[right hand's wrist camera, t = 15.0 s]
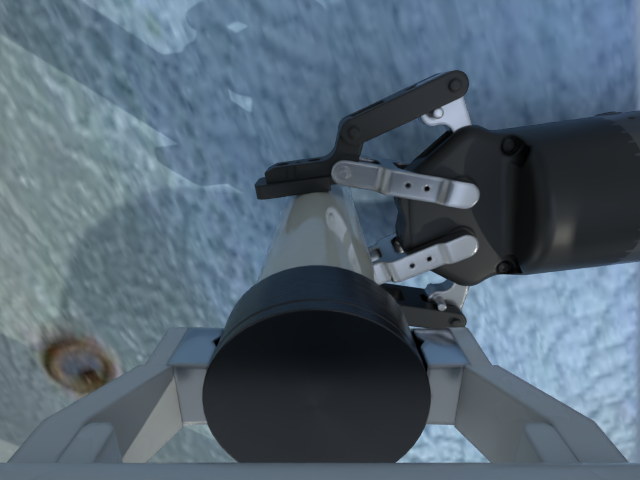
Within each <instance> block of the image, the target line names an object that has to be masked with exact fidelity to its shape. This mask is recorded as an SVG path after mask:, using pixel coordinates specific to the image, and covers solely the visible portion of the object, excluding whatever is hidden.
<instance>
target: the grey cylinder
mask: <svg viewBox="0 0 640 480" xmlns="http://www.w3.org/2000/svg"><path fill="white" fill-rule="evenodd" d="M308 265H326V266H334V267H340V268H344V269H348V270H351V271H354V272H356V273H359V274H362V275H364V276H365V277H367V278H369V279H371V280H373V281H374V282H376V283H377V284H379V282H378V279H377V276H376V272H375V269H374V266H373V263H372V259H371V256H370V253H369V250H368V247H367V243H366V240H365V237H364V234H363V231H362V227H361V224H360V221H359V218H358V215H357V211H356V208H355V205H354V202H353V198H352V195H351V192H350V189H349V187H348V186H342V185H339V184H335V185H331V191H325V192H316V193H309V194H302V195H294V196H286V198H285V201H284V204H283V207H282V210H281V213H280V216H279V219H278V221H277V224H276V227H275V230H274V233H273V236H272V239H271V242H270V245H269V248H268V251H267V254H266V257H265V260H264V263H263V266H262V269H261V272H260V275H259V278H258V281H257V283H258V282H260V281H261V280H263V279H265V278H267V277H269V276H270V275H272V274H275V273H278V272H280V271H283V270H286V269H290V268H294V267H299V266H308Z"/></svg>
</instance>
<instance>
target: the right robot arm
mask: <svg viewBox="0 0 640 480" xmlns="http://www.w3.org/2000/svg"><path fill="white" fill-rule="evenodd" d="M223 330H224V328H194V327H191V328H189V327H172V328H170V329H168V331H167V332H166V334H165V335H164V337H163V338H162V340H161V341H160V343H159V344H158V346H157V347H156V349H155V350H154V352H153V353H152V355H151V356H150V358H149V360H148V361H147V363H146V364H145V365H139V366H137V367H135V368H134V369H132V370H130V371H128V372H127V373H125V374H123V375H121V376H120V377H118V378H116V379H114V380H113V381H111V382H109V383H108V384H106V385H104V386H102V387H101V388H99V389H97V390H95V391H94V392H92V393H90V394H88V395H87V396H85V397H83V398H81V399H80V400H78V401H76V402H74V403H73V404H71V405H69V406H67V407H66V408H64V409H62V410H61V411H59V412H57V413H55V414H54V415H52V416H50V417H48V418H47V419H45V420H43V421H42V422H41V423H40V424H39V426H38V427H37V428H36V429H35V430H34V431H33V433H32V434H31V435H30V436H29V437H28V438H27V440H26V441H25V442H24V443H23V444H22V445H21V447H20V448H19V449H18V450H17V451H16V452H15V454H14V455H13V456H12V457H11V458H10V459H9V460H8V462H7V463H0V480H640V463H629V462H628V461H627V460H626V458H625V457H624V456H623V455H622V454H621V452H620V451H619V450H618V449H617V448H616V447H615V445H614V444H613V443H612V442H611V441H610V439H609V438H608V437H607V436H606V435H605V433H604V432H603V431H602V430H601V429H600V427H599V426H598V425H597V424H596V423H595V422H594V421H593V420H591V419H589V418H588V417H586V416H584V415H582V414H581V413H579V412H577V411H576V410H574V409H572V408H570V407H569V406H567V405H565V404H563V403H562V402H560V401H558V400H557V399H555V398H553V397H551V396H550V395H548V394H546V393H545V392H543V391H541V390H539V389H538V388H536V387H534V386H533V385H531V384H529V383H527V382H526V381H524V380H522V379H520V378H519V377H517V376H515V375H514V374H512V373H510V372H508V371H507V370H505V369H503V368H502V367H500V366H498V365H492V364H491V363H490V361H489V360H488V358H487V357H486V355H485V353H484V352H483V350H482V349H481V347H480V346H479V344H478V343H477V341H476V340H475V338H474V337H473V335H472V334H471V332H470V330H469V329H468V328H466V327H453V328H421V329H410V331H411V333H412V336H413V339H414V341H415V344H416V347H417V349H418V352H419V354H420V357H421V360H422V362H423V365H424V368H425V370H426V373H427V375H428V378H429V383H430V388H431V405H430V412H429V416H428V419H427V422H426V424H440V425H454V427H455V428H456V429H457V430H458V431H459V432H460V433H461V434H462V435H463V436H464V437H466V438H467V439H468V440H469V441H470V442H471V443H472V444H473V445H474V446H475V447H476V448H477V449H478V450H479V451H480V452H481V453H482V454H483V455H484V456H485V457H486V458H487V459H488V460H489V461H490V462H491V463H146V462H147V461H148V460H149V459H150V458H151V457H152V456H153V455H154V454H155V453H156V452H157V451H158V450H159V449H160V448H161V447H162V446H164V445H165V444H166V443H167V442H168V441H169V440H170V439H171V438H172V437H173V436H174V435H175V434H176V433H177V432H178V431H179V430H180V429H181V428H182V427H183V425H196V424H207V421H206V418H205V415H204V411H203V403H202V388H203V383H204V378H205V375H206V372H207V369H208V367H209V364H210V362H211V359H212V357H213V355H214V352H215V350H216V347H217V345H218V343H219V340H220V338H221V335H222V333H223Z"/></svg>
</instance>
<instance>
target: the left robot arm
mask: <svg viewBox="0 0 640 480" xmlns="http://www.w3.org/2000/svg"><path fill="white" fill-rule="evenodd" d="M468 86H469V80H468V77H467V75H466V74H465V73H464V72H462V71H459V70H455V71H449V72H444V73H438V74H435V75H433V76H431V77H429V78H426V79H424V80H422V81H420V82H418V83H416V84H414V85H412V86H410V87H407V88H405V89H403V90H401V91H399V92H397V93H395V94H393V95H390V96H388V97H386V98H384V99H382V100H380V101H378V102H376V103H374V104H371V105H369V106H367V107H365V108H363V109H361V110H359V111H357V112H355V113H352V114H350V115H348V116H346V117H344V118H343V119H342V120H341V121H340V123H339V126H338V133H337V138H336V142H335V146H334V148H333V150H332V151H331V153H329V154H328V155H326V156H324V157H318V158H310V159H303V160H296V161H289V162H281V163H276V164H275V165H273V166H271V167H269V168H268V169H267V171H266V172H265V177H263V178H260V179H259V180H258V181H257V182H256V184H255V189H256V194H257V199H271V198H279V197H286V196H294V195H302V194H309V193H316V192H325V191H331V185H335V184H339V185H342V186H348V187H354V188H360V189H366V190H372V191H377V192H379V193H381V194H384V195H389V196H394V200H395V203H396V206H397V209H398V216H397V221H396V233H393V234H391V235H388V236H386V237H384V238H381V239H380V240H378V241H377V243H376V244H375V245H373V246H371V247H368V250H369V253H370V256H371V259H372V263H373V266H374V269H375V272H376V276H377V279H378V282H379V285H380V286H381V287H383V288H384V289H385V290H386V291H387V292H388V293H389V294H390V295H391V296H392V297H393V298H394V299H395V301H396V302H397V303H398V305H399V306H400V308H401V310H402V311H403V313H404V315H405V318H406V320H407V323H408V326H414V327H422V328H453V327H465V325H466V322H467V321H466V318H465V316H464V315H463V313H462V307H463V304H464V301H465V298H466V295H467V292H468V289H469V287H470V286H473V285H477V284H479V283H481V282H482V281H484V280H485V279H487V278H489V277H492V276H495V275H499V274H511V275H530V274H538V273H546V272H555V271H563V270H572V269H580V268H589V267H597V266H606V265H614V264H622V263H630V262H639V261H640V111H632V112H625V113H622V112H608V113H603V114H598V115H596V116H594V117H589V118H582V119H575V120H567V121H560V122H552V123H545V124H538V125H530V126H523V127H516V128H509V129H501V130H487V129H485V128H483V127H481V126H477V125H472V124H471V120H470V117H469V114H468V110H467V107H466V103H465V100H464V97H463V96H464V95H465V93H466V92H467V90H468ZM416 118H418V120H419V121H420V122H421V123H423V124H426V125H430V126H435V125H439V124H442V125H444V126H445V127H446V129H447V131H446V132H445V133H444V134H443V135H442V136H441V137H439V138H438V139H437V140H436V141H435V142H434V143H433V144H431V145H430V146H429V147H428V148H427V149H426V150H425V151H424V152H422V153H421V154H420V155H419V156H418V157H417V158H416V159H415V160H413V161H412V162H411V163H407V162H401V161H395V160H389V159H383V158H370V157H364V156H360V154H361V150H362V146H363V143H364V142H366V141H368V140H370V139H372V138H375V137H377V136H379V135H381V134H383V133H386V132H388V131H390V130H392V129H394V128H396V127H399V126H401V125H403V124H405V123H407V122H410V121H412V120H414V119H416ZM429 270H430V271H432V272H434V273H436V274H438V275H440V276H442V277H444V278H446V279H447V280H445V281H444V282H442V283H439V284H432V283H430V284H428V285H427V287H426V288H425V289H422V288H415V287H408V286H401V285H394V284H387V283H386V282H389V281H392V282H401V281H404V280H406V279H409V278H411V277H414V276H416V275H419V274H422V273H424V272H427V271H429Z"/></svg>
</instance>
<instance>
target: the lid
mask: <svg viewBox="0 0 640 480" xmlns="http://www.w3.org/2000/svg"><path fill="white" fill-rule="evenodd" d="M202 403H203V411H204V415H205V418H206V421H207V424H208V426H209V428H210V430H211V432H212V434H213V436H214V437H215V439H216V440H217V442H218V443H219V445H220V446H221V447H222V448H223V449H224V450H225V451H226V452H227V453H228V454H229V455H230V456H231V457H232V458H233V459H235V460H236V461H237V462H239V463H395V462H397V461H398V460H399V459H400V458H402V457H403V456H404V455H405V454H406V453H407V452H408V451H409V450H410V449H411V448H412V447H413V445H414V444H415V443H416V441H417V440H418V438H419V437H420V435H421V433H422V431H423V429H424V427H425V425H426V422H427V419H428V416H429V412H430V405H431V388H430V383H429V378H428V375H427V373H426V370H425V368H424V365H423V362H422V360H421V357H420V354H419V352H418V349H417V347H416V344H415V341H414V339H413V336H412V333H411V331H410V328H409V326H408V323H407V320H406V318H405V315H404V313H403V311H402V310H401V308H400V306H399V305H398V303H397V302H396V301H395V299H394V298H393V297H392V296H391V295H390V294H389V293H388V292H387V291H386V290H385V289H384V288H383V287H381V286H380V285H379V284H377V283H376V282H374V281H373V280H371V279H369V278H367V277H365V276H364V275H362V274H359V273H356V272H354V271H351V270H348V269H344V268H340V267H334V266H326V265H308V266H299V267H294V268H290V269H286V270H283V271H280V272H278V273H275V274H272V275H270V276H269V277H267V278H265V279H263V280H261V281H260V282H258V283H257V284H256V285H254V286H253V287H251V288H250V289H249V290H248V291H247V292H246V293H245V294H244V295H243V296H242V297H241V299H240V300H239V301H238V302H237V304H236V305H235V307H234V308H233V310H232V312H231V314H230V316H229V318H228V321H227V323H226V326H225V328H224V330H223V333H222V335H221V338H220V340H219V343H218V345H217V347H216V350H215V352H214V355H213V357H212V359H211V362H210V364H209V367H208V369H207V372H206V375H205V378H204V383H203V388H202Z"/></svg>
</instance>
